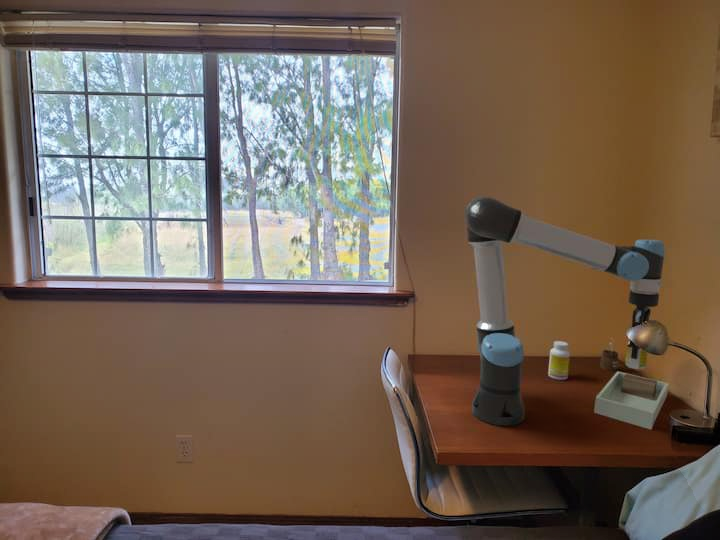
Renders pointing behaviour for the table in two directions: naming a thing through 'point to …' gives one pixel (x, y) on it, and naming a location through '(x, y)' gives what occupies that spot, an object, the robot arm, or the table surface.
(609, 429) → the table surface
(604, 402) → the tote
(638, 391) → the walnut block
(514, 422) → the robot arm
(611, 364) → the utensil holder
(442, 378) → the table surface
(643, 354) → the supplement bottle
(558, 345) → the supplement bottle
